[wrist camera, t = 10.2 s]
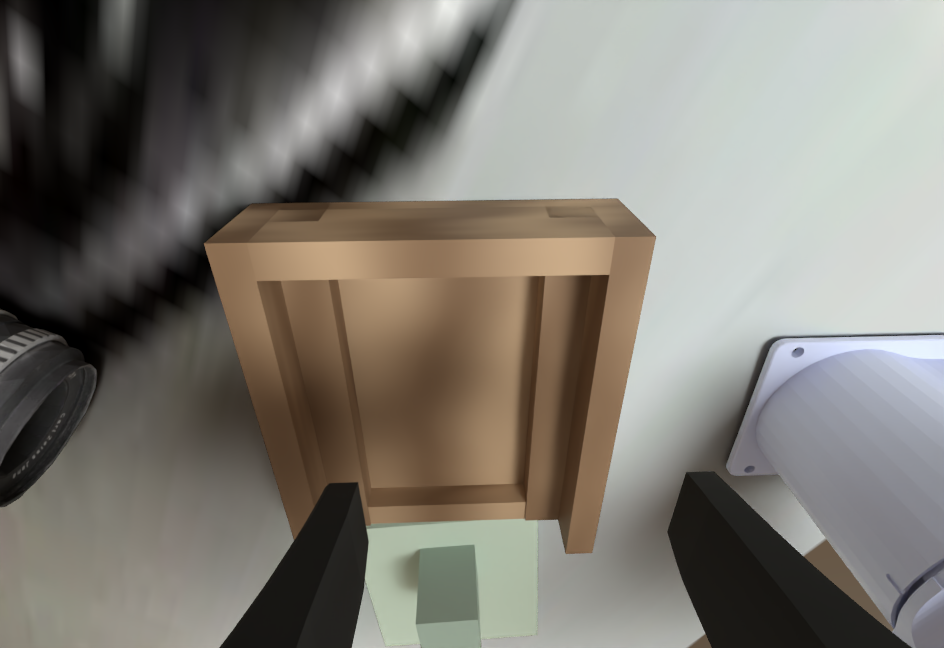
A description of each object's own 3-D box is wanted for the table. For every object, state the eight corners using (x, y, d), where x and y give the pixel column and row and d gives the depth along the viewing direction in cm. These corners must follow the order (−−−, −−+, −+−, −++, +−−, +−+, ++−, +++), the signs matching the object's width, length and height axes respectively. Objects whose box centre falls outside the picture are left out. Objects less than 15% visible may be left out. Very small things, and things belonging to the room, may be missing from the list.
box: (617, 198, 17) (656, 236, 14) (573, 485, 25) (592, 553, 22) (251, 203, 17) (204, 243, 14) (321, 493, 25) (301, 562, 21)
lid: (535, 500, 26) (551, 590, 22) (535, 619, 33) (547, 707, 28) (353, 514, 26) (334, 606, 22) (387, 630, 33) (377, 720, 28)
